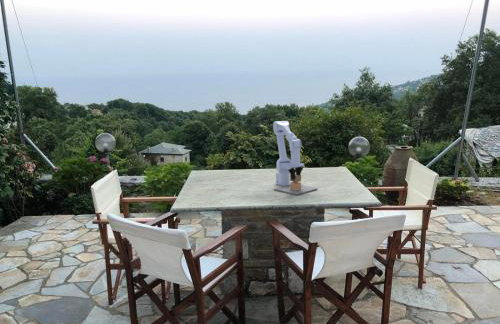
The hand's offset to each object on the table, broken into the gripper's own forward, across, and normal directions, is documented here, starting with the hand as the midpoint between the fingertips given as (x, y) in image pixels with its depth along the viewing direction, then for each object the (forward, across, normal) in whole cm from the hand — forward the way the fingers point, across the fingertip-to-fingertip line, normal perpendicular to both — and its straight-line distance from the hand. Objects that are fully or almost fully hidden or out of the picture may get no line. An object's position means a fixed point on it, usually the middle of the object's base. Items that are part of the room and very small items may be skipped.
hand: (295, 178), depth 255 cm
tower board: (+8, 0, 0) cm, 8 cm away
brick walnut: (+1, 0, 0) cm, 1 cm away
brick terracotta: (+6, 0, 0) cm, 6 cm away
